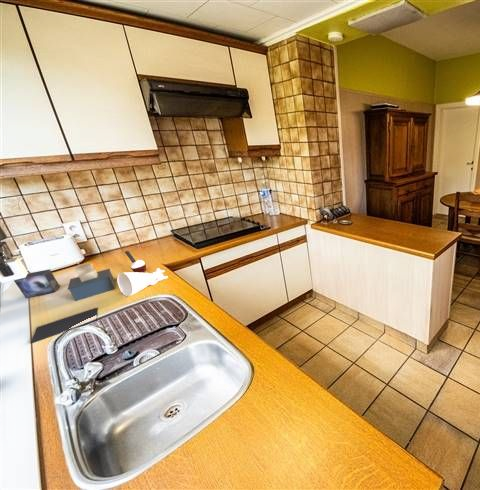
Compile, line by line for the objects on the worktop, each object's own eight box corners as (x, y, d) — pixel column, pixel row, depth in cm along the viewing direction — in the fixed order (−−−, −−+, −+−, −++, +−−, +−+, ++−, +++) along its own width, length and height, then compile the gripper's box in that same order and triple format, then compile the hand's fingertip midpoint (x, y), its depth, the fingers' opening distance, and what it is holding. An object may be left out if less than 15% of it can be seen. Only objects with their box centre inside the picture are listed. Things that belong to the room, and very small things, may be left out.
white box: (1, 283, 92) (-11, 266, 89) (5, 278, 95) (-6, 262, 93) (25, 277, 95) (14, 261, 93) (28, 272, 99) (18, 257, 96)
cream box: (81, 281, 125) (74, 269, 123) (82, 278, 129) (75, 266, 126) (97, 277, 129) (91, 265, 126) (97, 274, 132) (91, 262, 130)
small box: (24, 299, 127) (11, 280, 123) (32, 292, 133) (20, 274, 128) (54, 292, 132) (43, 274, 127) (61, 286, 137) (50, 268, 133)
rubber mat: (31, 343, 98) (30, 342, 98) (37, 328, 106) (36, 327, 106) (96, 320, 109) (96, 319, 109) (97, 307, 117) (97, 307, 117)
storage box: (75, 301, 123) (67, 288, 120) (77, 291, 132) (70, 279, 129) (115, 288, 132) (109, 276, 129) (115, 280, 140) (109, 268, 137)
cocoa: (148, 272, 147) (140, 252, 142) (134, 276, 143) (125, 256, 138) (146, 266, 153) (138, 248, 148) (132, 270, 149) (123, 251, 145)
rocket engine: (163, 258, 138) (121, 267, 122) (176, 274, 137) (135, 286, 120) (156, 272, 143) (114, 283, 126) (168, 288, 141) (128, 301, 125)
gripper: (-30, 226, 90) (1, 270, 97) (-47, 237, 81) (-12, 284, 87) (5, 221, 95) (31, 263, 102) (-7, 230, 85) (23, 276, 92)
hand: (11, 272), depth 95 cm, fingers closed on white box, 5 cm apart
